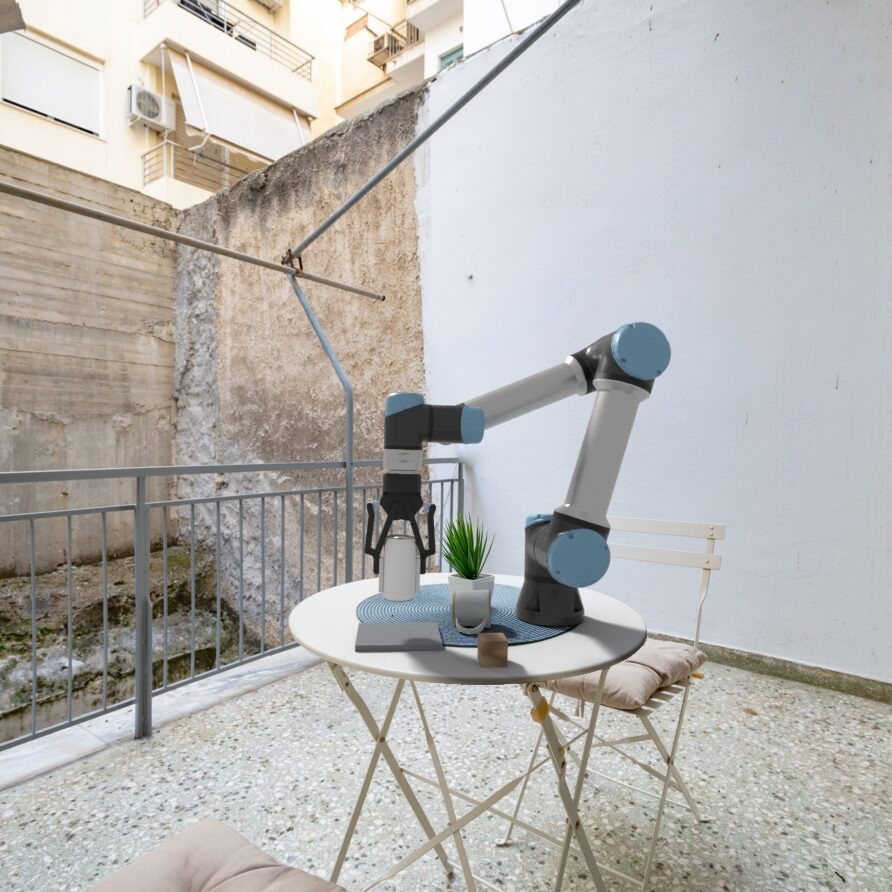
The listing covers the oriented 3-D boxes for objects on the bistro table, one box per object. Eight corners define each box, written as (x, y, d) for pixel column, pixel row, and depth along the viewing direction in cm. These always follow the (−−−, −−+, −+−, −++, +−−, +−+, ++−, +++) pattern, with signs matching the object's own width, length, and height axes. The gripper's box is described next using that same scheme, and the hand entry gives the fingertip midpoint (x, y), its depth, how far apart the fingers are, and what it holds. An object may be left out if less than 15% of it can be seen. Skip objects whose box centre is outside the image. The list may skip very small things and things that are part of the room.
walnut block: (502, 658, 104) (502, 632, 104) (507, 667, 100) (508, 641, 100) (477, 658, 104) (477, 633, 104) (481, 667, 99) (481, 641, 99)
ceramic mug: (453, 619, 127) (453, 584, 127) (490, 621, 126) (491, 586, 126) (449, 635, 116) (449, 597, 116) (490, 637, 116) (491, 599, 116)
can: (409, 593, 118) (411, 533, 118) (420, 601, 112) (422, 538, 112) (378, 595, 115) (380, 534, 115) (387, 603, 109) (389, 539, 109)
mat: (436, 627, 121) (436, 622, 121) (442, 650, 107) (443, 644, 107) (358, 627, 120) (358, 622, 120) (354, 651, 106) (355, 645, 106)
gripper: (351, 471, 109) (347, 595, 109) (453, 474, 111) (450, 595, 111) (353, 470, 117) (349, 586, 116) (449, 472, 119) (446, 586, 118)
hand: (398, 590), depth 114 cm, fingers closed on can, 6 cm apart
